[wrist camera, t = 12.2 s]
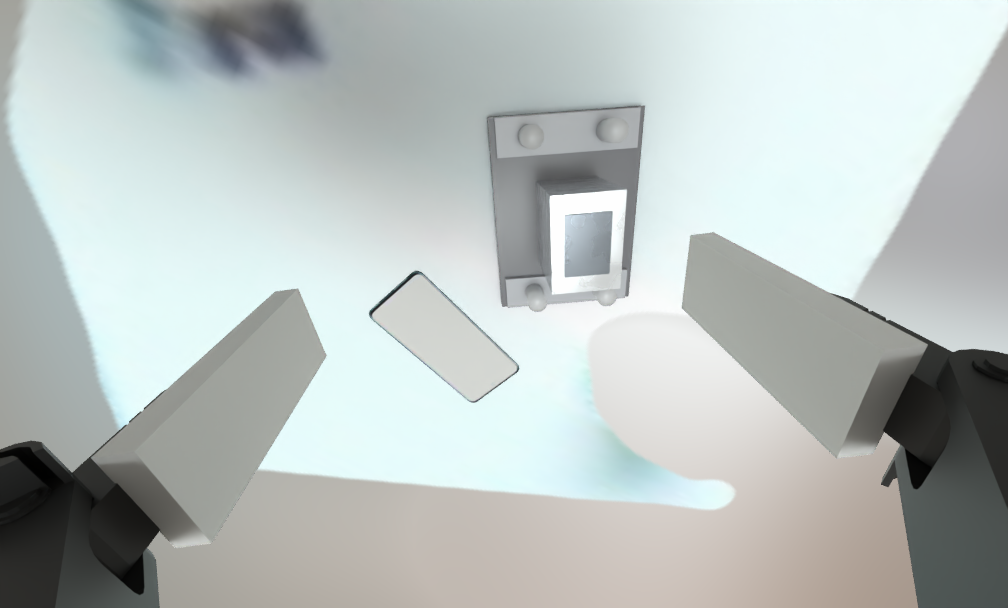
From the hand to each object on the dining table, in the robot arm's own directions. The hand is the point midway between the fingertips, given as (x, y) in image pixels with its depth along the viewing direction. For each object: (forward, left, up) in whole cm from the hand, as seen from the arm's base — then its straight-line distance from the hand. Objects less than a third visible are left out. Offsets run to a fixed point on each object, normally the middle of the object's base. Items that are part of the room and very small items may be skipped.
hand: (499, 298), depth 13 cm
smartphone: (+14, -5, -21) cm, 26 cm away
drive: (+3, +6, -20) cm, 21 cm away
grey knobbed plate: (+2, +6, -21) cm, 22 cm away
